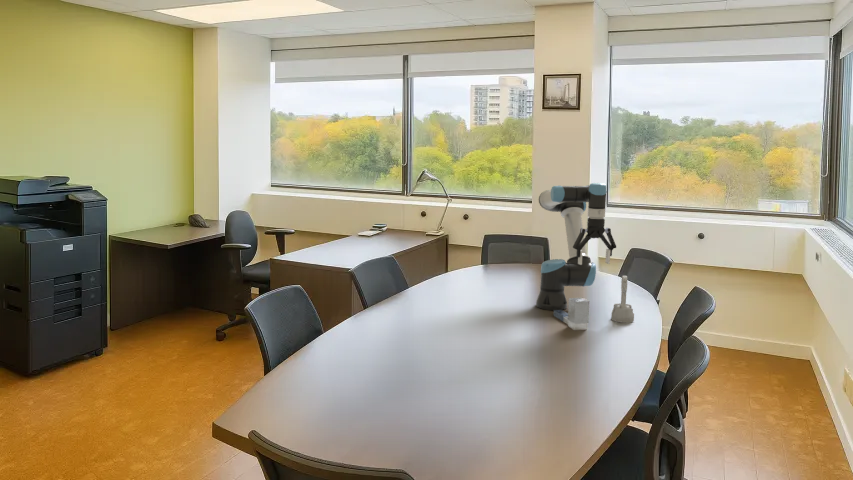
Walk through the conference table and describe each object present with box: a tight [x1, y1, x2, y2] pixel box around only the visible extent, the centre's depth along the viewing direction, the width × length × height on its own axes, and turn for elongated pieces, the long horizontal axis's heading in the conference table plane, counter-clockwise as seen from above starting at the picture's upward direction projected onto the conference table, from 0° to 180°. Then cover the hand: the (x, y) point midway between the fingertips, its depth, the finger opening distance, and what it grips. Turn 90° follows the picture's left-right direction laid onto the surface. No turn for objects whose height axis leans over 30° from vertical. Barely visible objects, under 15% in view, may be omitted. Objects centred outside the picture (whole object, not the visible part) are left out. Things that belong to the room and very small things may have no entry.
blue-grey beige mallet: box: [553, 309, 588, 331], centre depth 298 cm, size 24×6×8 cm, turn 13°
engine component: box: [610, 275, 635, 324], centre depth 303 cm, size 11×20×10 cm
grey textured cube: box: [567, 297, 590, 324], centre depth 288 cm, size 7×7×10 cm
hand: (593, 263), depth 300 cm, fingers open, 13 cm apart
